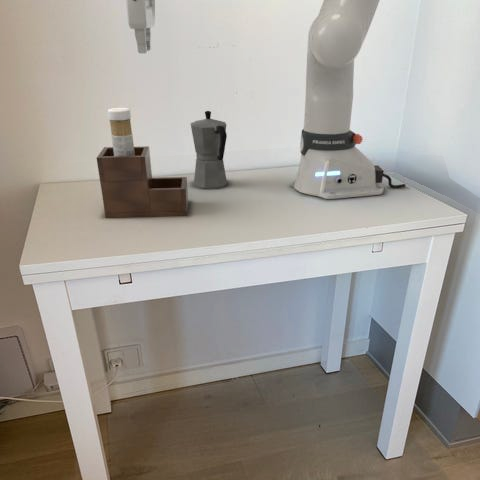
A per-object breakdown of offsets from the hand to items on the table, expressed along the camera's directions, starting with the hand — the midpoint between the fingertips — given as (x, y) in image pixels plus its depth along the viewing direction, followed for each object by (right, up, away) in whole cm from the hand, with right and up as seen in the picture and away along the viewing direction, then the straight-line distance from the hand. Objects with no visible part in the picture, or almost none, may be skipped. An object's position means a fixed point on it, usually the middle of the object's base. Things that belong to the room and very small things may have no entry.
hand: (144, 51), depth 110 cm
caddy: (0, -34, +4) cm, 34 cm away
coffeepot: (+14, -24, +20) cm, 34 cm away
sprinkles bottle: (-4, -28, -1) cm, 28 cm away
